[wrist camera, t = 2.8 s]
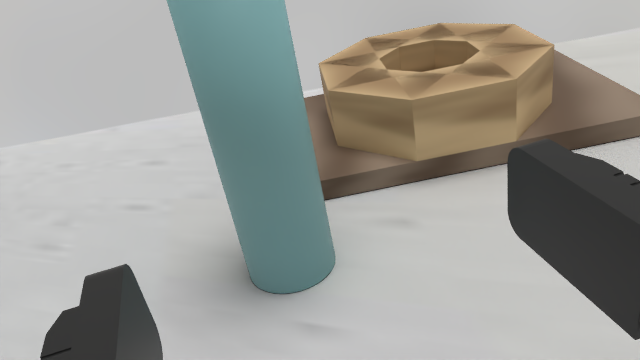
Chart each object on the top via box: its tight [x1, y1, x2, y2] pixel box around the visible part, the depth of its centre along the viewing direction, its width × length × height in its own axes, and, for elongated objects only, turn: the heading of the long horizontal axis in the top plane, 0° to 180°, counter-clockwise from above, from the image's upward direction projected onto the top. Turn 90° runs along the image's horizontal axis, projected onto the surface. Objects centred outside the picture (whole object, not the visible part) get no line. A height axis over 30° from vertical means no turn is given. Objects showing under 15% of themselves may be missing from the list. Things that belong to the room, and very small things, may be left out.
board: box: [304, 50, 640, 200], centre depth 34 cm, size 22×13×1 cm, turn 96°
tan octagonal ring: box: [319, 23, 554, 161], centre depth 33 cm, size 13×13×4 cm
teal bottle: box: [167, 0, 335, 294], centre depth 21 cm, size 4×4×16 cm
